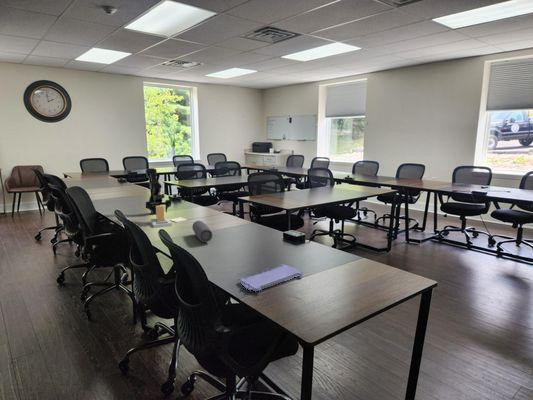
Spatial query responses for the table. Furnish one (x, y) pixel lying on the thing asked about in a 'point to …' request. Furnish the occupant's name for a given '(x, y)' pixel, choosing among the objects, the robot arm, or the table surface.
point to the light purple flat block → (269, 277)
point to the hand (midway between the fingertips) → (160, 213)
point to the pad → (178, 219)
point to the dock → (161, 223)
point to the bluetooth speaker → (202, 231)
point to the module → (159, 213)
